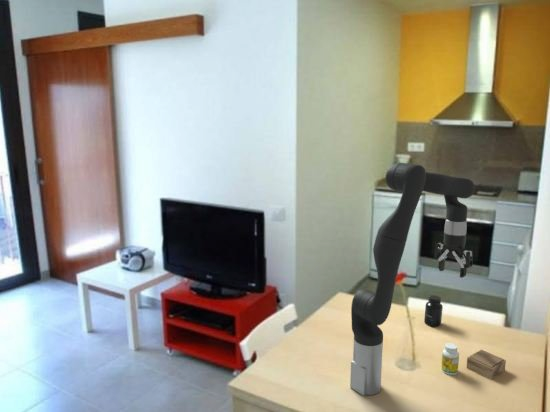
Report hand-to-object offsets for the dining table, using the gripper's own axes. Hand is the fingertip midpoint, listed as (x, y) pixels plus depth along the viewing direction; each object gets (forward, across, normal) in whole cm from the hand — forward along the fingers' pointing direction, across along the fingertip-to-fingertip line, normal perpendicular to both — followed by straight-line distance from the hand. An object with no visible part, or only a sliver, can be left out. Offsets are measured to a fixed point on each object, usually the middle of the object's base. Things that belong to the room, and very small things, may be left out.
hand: (451, 273), depth 173 cm
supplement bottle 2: (+29, +11, -15) cm, 35 cm away
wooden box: (+29, +18, -4) cm, 34 cm away
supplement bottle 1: (+29, -14, +11) cm, 34 cm away
